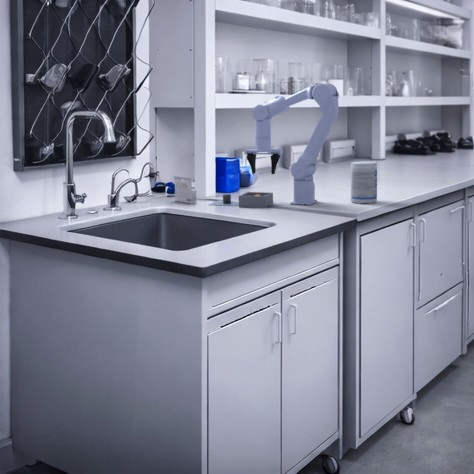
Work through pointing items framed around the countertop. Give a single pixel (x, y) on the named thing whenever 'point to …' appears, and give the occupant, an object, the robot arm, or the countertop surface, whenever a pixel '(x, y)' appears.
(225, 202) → the lid
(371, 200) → the supplement tub
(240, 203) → the box
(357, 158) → the countertop surface
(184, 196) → the ink cartridge box
